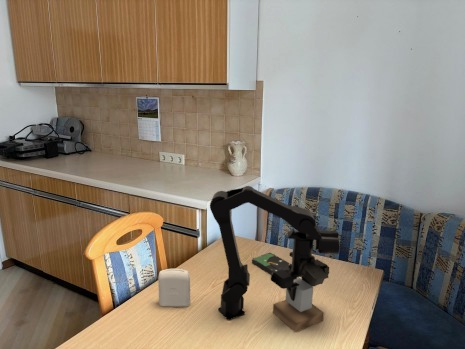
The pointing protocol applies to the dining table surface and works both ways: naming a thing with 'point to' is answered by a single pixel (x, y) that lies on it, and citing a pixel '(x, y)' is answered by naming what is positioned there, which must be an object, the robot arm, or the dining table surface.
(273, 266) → the disk drive
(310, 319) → the stand
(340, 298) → the dining table surface
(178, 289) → the photo printer
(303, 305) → the block
